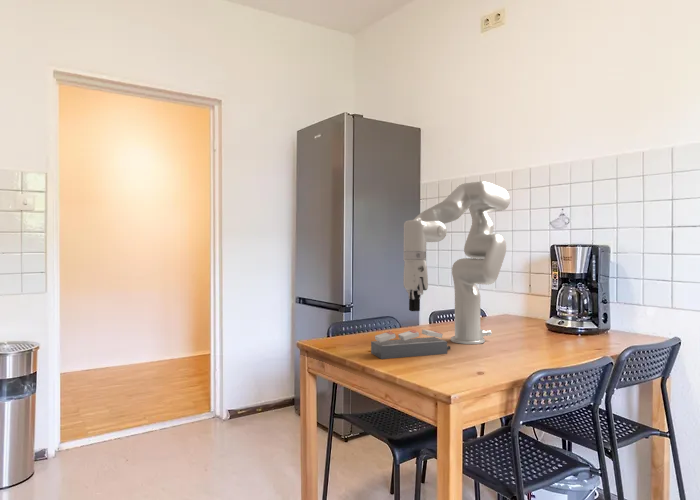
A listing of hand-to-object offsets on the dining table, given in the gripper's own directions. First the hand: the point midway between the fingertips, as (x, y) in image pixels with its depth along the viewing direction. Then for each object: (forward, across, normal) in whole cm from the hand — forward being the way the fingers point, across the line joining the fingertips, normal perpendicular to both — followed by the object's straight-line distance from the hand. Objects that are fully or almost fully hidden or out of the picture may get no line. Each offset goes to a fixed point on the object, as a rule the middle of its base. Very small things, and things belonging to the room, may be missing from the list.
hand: (414, 310), depth 165 cm
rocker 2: (+9, 0, +2) cm, 9 cm away
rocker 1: (+9, 0, +10) cm, 14 cm away
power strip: (+14, 0, 0) cm, 14 cm away
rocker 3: (+9, 0, -7) cm, 11 cm away
